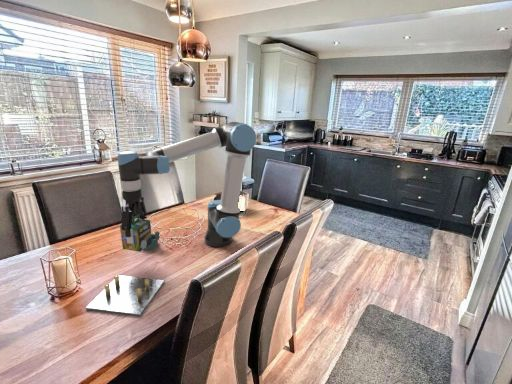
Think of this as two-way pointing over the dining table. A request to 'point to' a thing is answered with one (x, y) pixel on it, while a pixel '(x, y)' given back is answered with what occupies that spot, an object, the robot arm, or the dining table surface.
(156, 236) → the green pot
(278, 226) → the dining table surface
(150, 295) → the plate
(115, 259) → the dining table surface
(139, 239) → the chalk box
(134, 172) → the robot arm
